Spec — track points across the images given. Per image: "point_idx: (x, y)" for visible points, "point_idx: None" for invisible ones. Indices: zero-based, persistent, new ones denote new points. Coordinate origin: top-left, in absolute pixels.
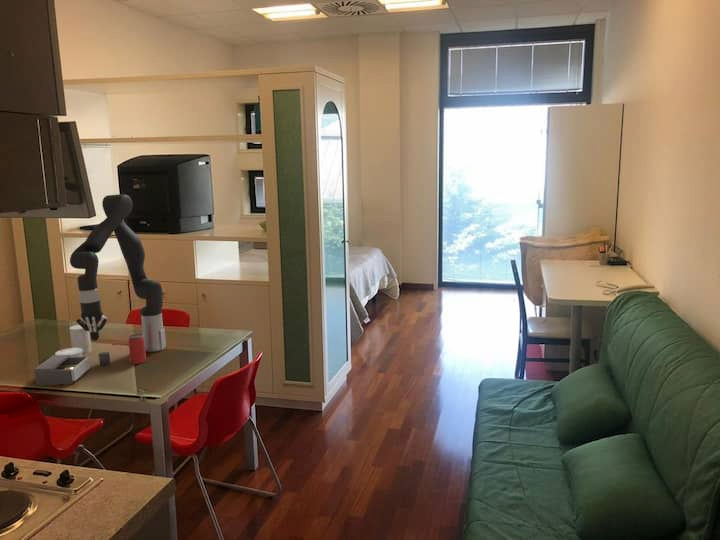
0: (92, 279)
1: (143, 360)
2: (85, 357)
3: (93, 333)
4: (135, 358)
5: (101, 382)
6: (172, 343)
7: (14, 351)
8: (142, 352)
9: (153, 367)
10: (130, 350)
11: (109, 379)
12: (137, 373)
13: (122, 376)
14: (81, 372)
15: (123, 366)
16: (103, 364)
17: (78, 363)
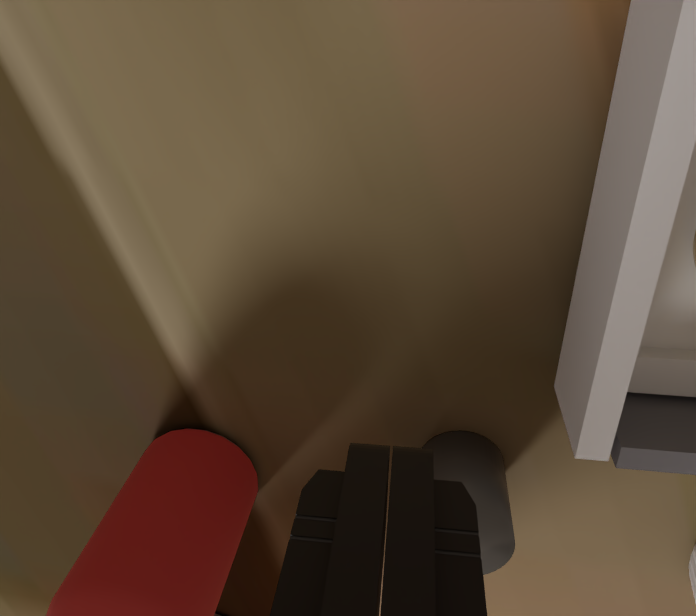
0: None
1: (143, 454)
2: (620, 446)
3: (372, 596)
4: (179, 457)
5: (327, 8)
6: None
7: None
8: (111, 506)
9: (19, 337)
10: (197, 529)
11: (275, 93)
12: (78, 221)
13: (180, 163)
14: (602, 190)
15: (282, 397)
16: (459, 440)
17: (688, 408)
